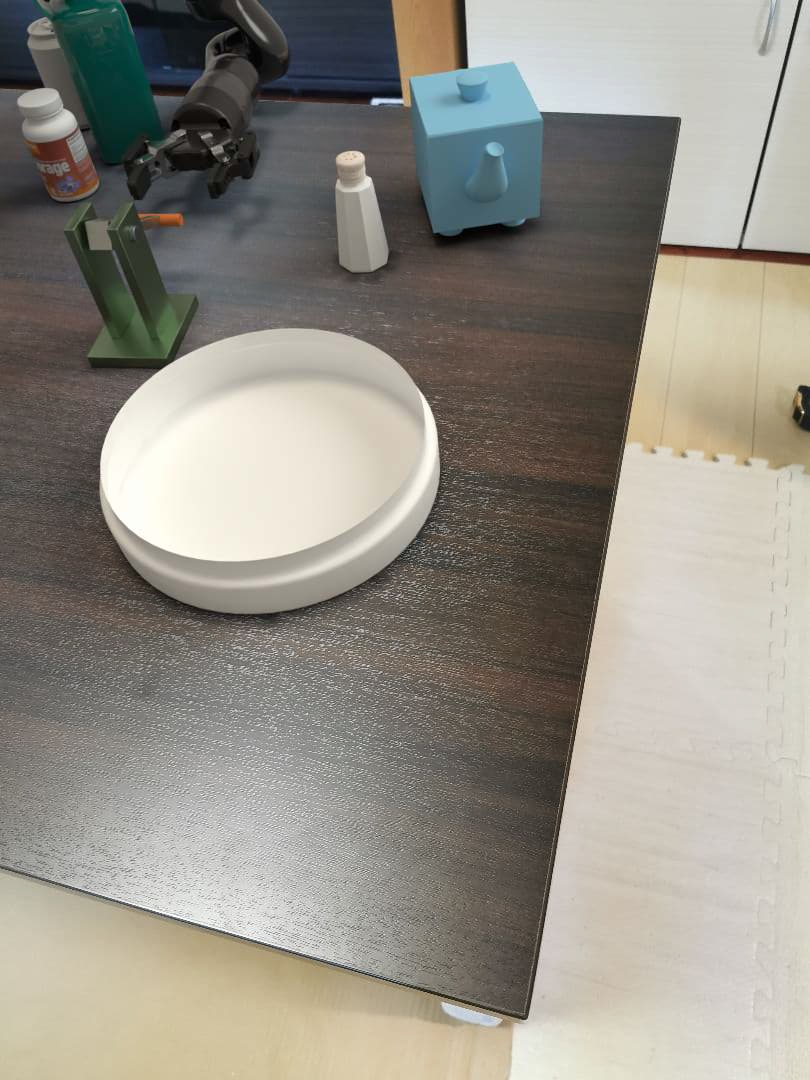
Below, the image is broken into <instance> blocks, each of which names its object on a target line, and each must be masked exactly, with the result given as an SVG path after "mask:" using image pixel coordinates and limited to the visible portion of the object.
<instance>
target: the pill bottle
mask: <svg viewBox="0 0 810 1080" xmlns="http://www.w3.org/2000/svg"><path fill="white" fill-rule="evenodd" d="M16 104H17V107H18V109H19V112H20V114H21V115H22V117H23V118H25V119H24V120H23V122H22V124H21V131H22V134H23V137H24V139H25V141H26V143H27V146H28V148H29V150H30V153H31V155H32V157H33V159H34V162H35V165H36V166H37V169H38V171H39V173H40V176H41V178H42V180H43V183H44V185H45V187H46V190H47V192H48V193H49V196H50V197H51V198H52V199H53V200H55V201H58V202H63V203H64V202H66V203H67V202H75V201H76V202H77V201H80V200H83V199H86V198H89V197H90V196H92V195H93V194H94V193H95V192H96V191H97V190H98V188H99V186H100V179H99V177H98V173H97V171H96V169H95V166H94V163H93V161H92V158H91V156H90V152H89V150H88V147H87V145H86V143H85V140H84V137H83V134H82V132H81V129H79V126H78V123H77V121H76V119H75V117H74V115H73V114H72V113H71V112H70V111H68V110H66V109H63V103H62V100H61V98H60V95H59V93H58V91H57V90H55V89H52V88H45V87H41V88H35V89H32V90H29V91H27V92H24V93H22V94H21V95H20V96H19V97H18V98H17V100H16Z"/></svg>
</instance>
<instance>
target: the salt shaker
mask: <svg viewBox="0 0 810 1080" xmlns="http://www.w3.org/2000/svg"><path fill="white" fill-rule="evenodd" d="M365 161H366V157H365V154H363V153H362V152H361V151H357V150H347V151H344V152H341V153H340V154H338V155H337V156H336V158H335V165H336V167H337V174H338V176H339V177H338V178H337V180H336V184H335V187H334V188H335V189H334V190H335V211H336V227H337V228H336V229H337V230H336V231H337V246H338V247H337V248H338V260H339V265H340V266H341V267H342V268H344V269H345V270H347V271H348V272H350V273H354V274H356V273H357V274H358V273H359V274H360V273H372V272H375V271H376V270H378V269H379V268H381V267H384V266H385V265H386V264H387V263H388V259H389V251H390V250H389V246H388V240H387V237H386V233H385V229H384V224H383V220H382V216H381V211H380V207H379V203H378V198H377V195H376V190H375V186H374V182H373V179H372V177H370V176H369V175H367V173H366V171H367V170H366V164H365Z"/></svg>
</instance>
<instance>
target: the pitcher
mask: <svg viewBox="0 0 810 1080" xmlns="http://www.w3.org/2000/svg"><path fill="white" fill-rule="evenodd" d="M31 1H32V3H33V4H34V5H35V7H36V8H37V10H38V11H39V12H40V13H41V14H42V15H43V16H44V17H46V18H48V19H49V21H50V23H51V26H52V29H53V31H54V34H55V37H56V39H57V42H58V45H59V47H60V50H61V52H62V55H63V58H64V60H65V63H66V66H67V68H68V71H69V73H70V76H71V79H72V81H73V84H74V87H75V89H76V92H77V95H78V97H79V100H80V102H81V105H82V108H83V110H84V113H85V116H86V118H87V121H88V124H89V126H90V128H89V129H90V131H91V134H92V137H93V140H94V142H95V145H96V147H97V150H98V152H99V155H100V157H101V160H102V161H103V162H105V163H107V164H110V165H118V164H119V165H120V164H123V163H122V161H121V157H122V156H123V155H124V154H125V152H126V151H127V150H128V148H129V147H130V146H131V145H132V143H133V142H134V141H135V139H136V138H137V137H138V136H139V135H140V134H148V136H149V139H150V141H161V139H162V138H163V137H164V136H166V132H165V130H164V126H163V123H162V121H161V116H160V114H159V110H158V107H157V105H156V100H155V98H154V95H153V94H154V93H153V91H152V88H151V84H150V82H149V79H148V75H147V72H146V69H145V66H144V62H143V59H142V56H141V52H140V50H139V47H138V43H137V40H136V37H135V34H134V31H133V30H134V29H133V27H132V24H131V21H130V18H129V15H128V12H127V10H126V8H125V6H124V4H123V3H122V1H121V0H50V1H45V0H31Z"/></svg>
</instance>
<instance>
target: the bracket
mask: <svg viewBox="0 0 810 1080" xmlns="http://www.w3.org/2000/svg"><path fill="white" fill-rule="evenodd" d="M138 214H139V213H138V210H137V207H136V205H135V202H134V201H123V202H122V203H121V204H120V207H118V210H117V211H116V213H115V214H114V216H113V217H112V218H113V219H112V221H111V223H110V224H109V226H108V228H107V229H106V230H107V233H108V235H109V238H110V240H111V243H112V245H113V248H114V250H113V251H114V252H115V255H116V257H117V260H118V262H119V265H120V267H121V271H122V272H123V275H124V277H125V280H126V282H127V284H128V287H129V289H130V293H129V291H128V289H127V286H126V284H125V282H124V279H123V277H122V274H121V272H120V269H119V267H118V265H117V262H116V259H115V256H114V255H113V252H112V250H93V251H91V250H90V248H89V242H88V237H87V232H86V226H85V222H86V221H91V220H95V219H99V218H98V215H97V212H96V211H95V208H94V206H93V203H92V202H80V204H79V206H78V207H77V209H75V212H74V213H73V215H71V218H70V219H69V220H68V222H67V223H66V225H65V226H64V227H63V229H62V230H63V234H64V235H65V238H66V240H67V242H68V244H69V247H70V249H71V251H72V253H73V256H74V258H75V260H76V263H77V265H78V267H79V268H80V271H81V274H82V275H83V279H84V280H85V282H86V285H87V287H88V289H89V292H90V294H91V295H92V298H93V300H94V302H95V304H96V307H97V309H98V312H99V314H100V316H101V318H102V320H103V322H104V325H103V327H102V329H101V330H100V332H99V334H98V336H97V338H96V339H95V341H94V343H93V345H92V347H91V349H90V350H89V352H88V354H87V356H86V358H87V360H88V362H89V364H90V367H92V368H93V367H94V368H145V369H146V368H151V369H152V368H153V369H163V368H165V367H166V366H167V365H169V364H171V363H172V362H174V361H175V360H174V359H175V358H176V355H177V353H178V350H179V348H180V346H181V344H182V342H183V340H184V338H185V335H186V333H187V331H188V329H189V326H190V324H191V322H192V320H193V318H194V315H195V313H196V311H197V309H198V306H199V305H200V303H199V299H198V297H197V294H196V293H168V292H167V290H166V287H165V284H164V281H163V278H162V276H161V273H160V271H159V267H158V265H157V263H156V259H155V257H154V254H153V251H152V249H151V248H152V247H151V246H150V243H149V241H148V238H147V235H146V232H145V231H144V229H143V227H142V224H141V221H140V218H139V216H138Z"/></svg>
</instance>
